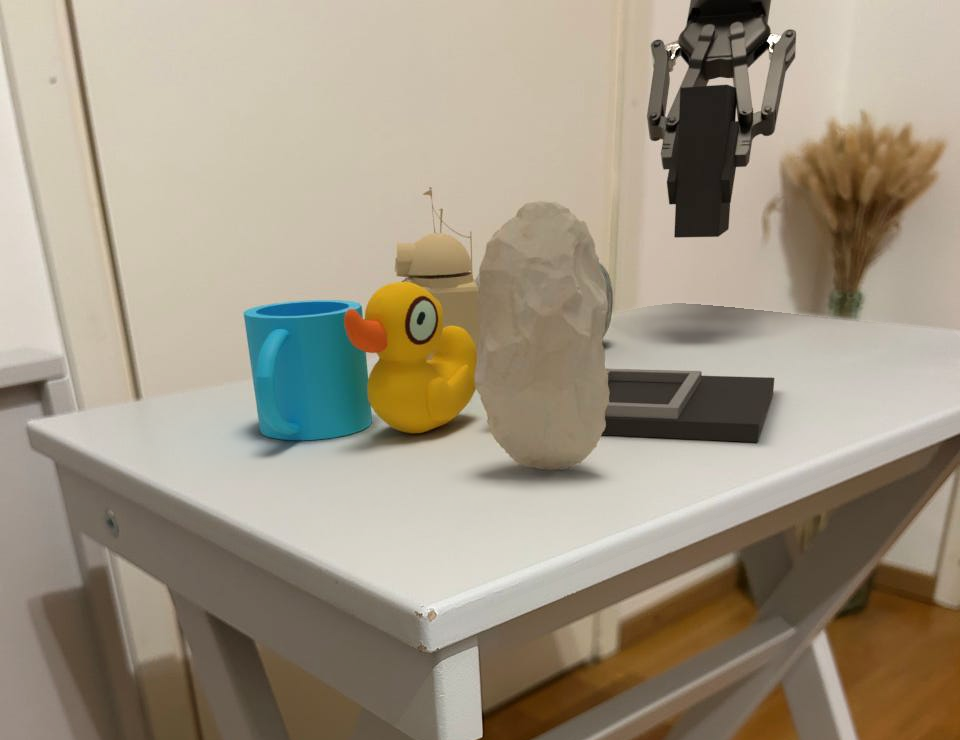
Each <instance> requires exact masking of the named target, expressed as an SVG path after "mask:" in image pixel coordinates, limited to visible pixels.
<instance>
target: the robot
mask: <svg viewBox="0 0 960 740" xmlns="http://www.w3.org/2000/svg"><path fill="white" fill-rule="evenodd" d="M428 188H429V190H427V191H425V192H424V193H422V195H424V196H430V198H431V200H433V190H432V189H433V187H432V186H431V187H428ZM431 209H432V210H431V213H432V214H434V213H435V215H436V217H437V218H438V219H439V232H436V226H435V225H433V233H429V234H427V235H424V236H422V237H421V238H419V239H418V240H416V242H415V243H413V242H412V243H411V242H396V257H395V264H394V272H395V273H396V275H395V276H396V277H400V278H404V279H403V280H401V282H411V283H414V284H416V285H419V286H421V287H422V288H424V289H425V290H427V291H428V292H429V293H430V294H432V296H433V297H434V298H435V299H437V300H438V301H439V302H440V304H441V306H442V309H443V328H445V327H447V326H458V327H461V328H463V329H465V330H466V331H467V332H468V334H469V335H470V337H471V338H472V340H473V342H474V344H475V347H476V354H477V358H478V349H479V337H480V334H481V329H480V326H479V324H478V311H477V308H476V303H477V300H478V297H479V289H478V287H477V284H476V282H475V278H474V274H473V246H472V245H473V244H472V241H473V239H472V231H469V236H468V235H464V234H461V233H459V232H457V231H455V230H454V229H453V228H451V227H450V226H449V225H447V224H446V222H444V221H443V211H444V208H440V209H438V211H440V212H439V213H440V216H439V215H438V213H437V212H436V210H435V208H434V204H433V203H431ZM432 221H433V224H435V219H434V216H432ZM443 224H444V225H445V226H446V227H447V228H448V229H449V230H451V231H452V232H453V233H455V234H456V235H459V236H461V237H464V238H467V239H470V254H469V252H468V250H467V249H466V247H465V246H464V245H463V244H462V242H461V241H460V240H458V239H457V238H455V237H454V236H452V235H450V234H447V233H443V232H442V227H443V226H442V225H443ZM433 352H434V350H433ZM433 352H432V353H431V354H430V355H429V356H428V357H427V359H426V361H427V360H431V359H432V356H433Z"/></svg>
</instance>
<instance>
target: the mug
mask: <svg viewBox="0 0 960 740" xmlns="http://www.w3.org/2000/svg"><path fill="white" fill-rule="evenodd" d="M349 309H355V310H356V311H357V312H358V313H359V315H360V316H361V318H363V319H364V316H363V315H364V314H363V305H362V304H361V303H360V302H356V301H352V300H342V299H309V300H296V301H285V302H276V303H275V302H274V303H270V304H263V305H258V306H254V307H250V308H248V309H246V310H244V311H243V319H244V326H245V332H246V333H245V334H246V340H247V347H248V355H249V361H250V368H251V376H252V383H253V390H254V396H255V404H256V405H255V406H256V411H257V419H258V425H259V426H258V427H259V432H260V434H262V435H263V436H265V437H268V438H272V439H276V440H284V441H285V440H286V441H316V440H327V439H333V438H338V437H345V436H348V435H352V434H355V433H359V432H361V431H364V430H365V429H367V428H369V427H370V426H371V424H372V423H373V415H372V407H371V405H370V402H369V399H368V394H367V385H368V379H369V371H368V370H369V369H368V360H367V352H365V351H362V350H360V349H358V348H356V347H355V346H354V345H353V344H352V343H351V342H350V340H349V338H348V335H347V333H346V329H345V326H344V318H345V314H346V312H347V311H348V310H349Z"/></svg>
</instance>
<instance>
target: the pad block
mask: <svg viewBox="0 0 960 740" xmlns="http://www.w3.org/2000/svg"><path fill="white" fill-rule="evenodd" d="M679 88H680V87H679ZM736 117H737V109H736V88H735V87H734V85H733V86H732V85H729V84H714V85H707V86H697V87H681V88H680V109H679V134H678V159H677V186H676V204H675V207H674V209H675V212H674V233H673V234H674V235H673V237H674V238H676V239H677V238H718V237H720V236H721V235H724V233H726V232H727V231H728V230H729V228H730V213H731V203H722V190H721V177H722V171H723V166H724V159H725V153H726V147H727V140H728V134H729V128H730V122H732V121H736Z"/></svg>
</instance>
